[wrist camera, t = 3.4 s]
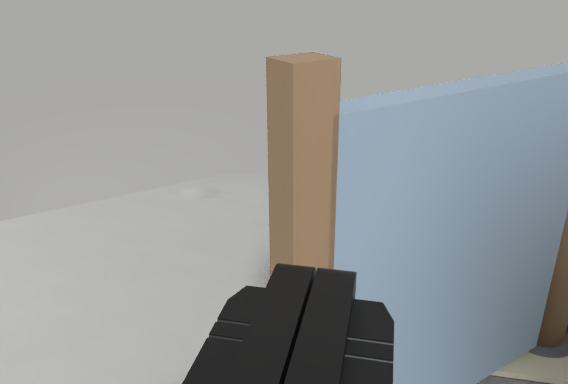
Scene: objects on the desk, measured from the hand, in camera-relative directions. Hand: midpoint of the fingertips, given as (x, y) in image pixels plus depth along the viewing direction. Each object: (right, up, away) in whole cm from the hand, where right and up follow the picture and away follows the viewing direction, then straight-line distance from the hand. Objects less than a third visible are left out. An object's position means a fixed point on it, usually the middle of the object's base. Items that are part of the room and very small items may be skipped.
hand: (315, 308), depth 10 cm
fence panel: (+5, -6, +11) cm, 14 cm away
